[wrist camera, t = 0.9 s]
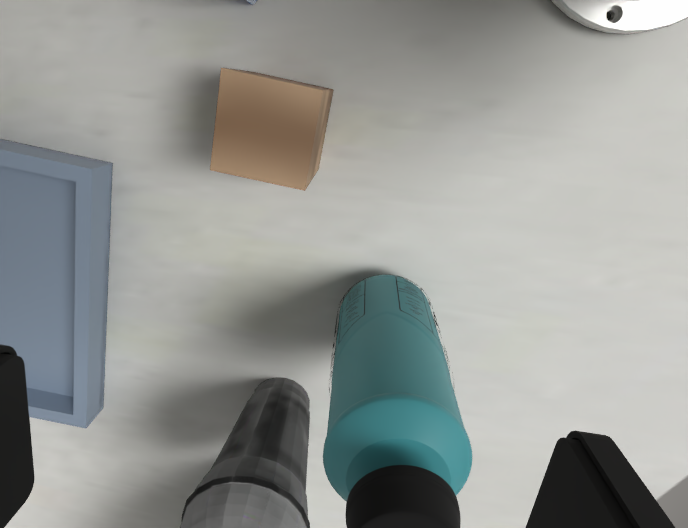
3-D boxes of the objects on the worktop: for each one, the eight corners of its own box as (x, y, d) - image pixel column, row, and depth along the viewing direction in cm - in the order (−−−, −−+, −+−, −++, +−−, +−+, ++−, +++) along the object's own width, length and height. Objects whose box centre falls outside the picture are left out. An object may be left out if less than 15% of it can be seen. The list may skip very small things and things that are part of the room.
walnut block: (254, 72, 30) (221, 67, 23) (333, 89, 30) (323, 90, 23) (243, 152, 32) (209, 170, 25) (318, 169, 32) (304, 190, 25)
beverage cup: (344, 388, 37) (317, 693, 19) (301, 453, 40) (239, 782, 21) (259, 346, 36) (140, 622, 18) (220, 415, 39) (80, 722, 20)
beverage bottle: (324, 283, 34) (268, 519, 16) (411, 248, 33) (465, 458, 14) (361, 357, 36) (351, 646, 18) (445, 326, 35) (530, 602, 16)
